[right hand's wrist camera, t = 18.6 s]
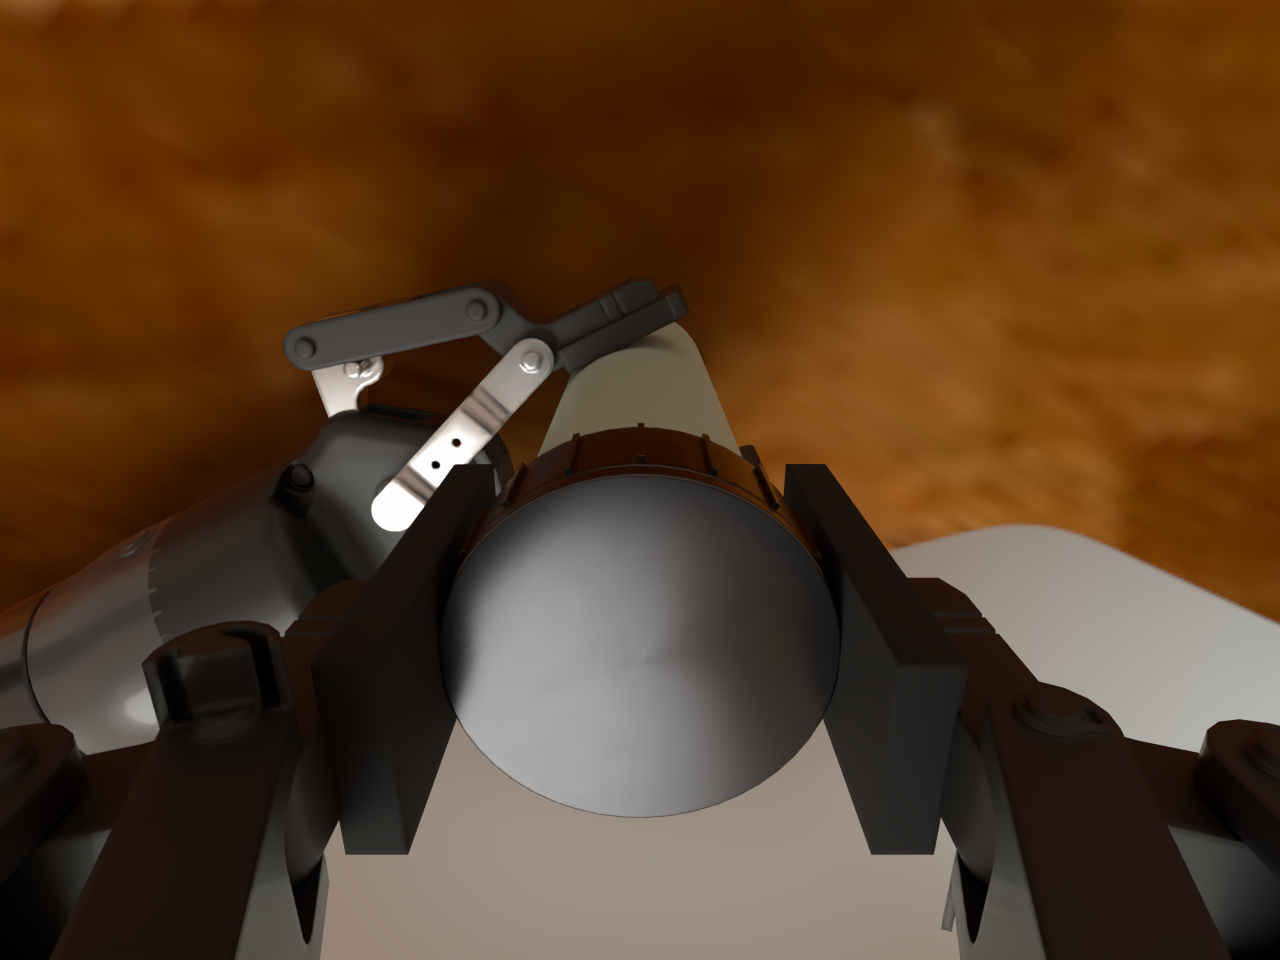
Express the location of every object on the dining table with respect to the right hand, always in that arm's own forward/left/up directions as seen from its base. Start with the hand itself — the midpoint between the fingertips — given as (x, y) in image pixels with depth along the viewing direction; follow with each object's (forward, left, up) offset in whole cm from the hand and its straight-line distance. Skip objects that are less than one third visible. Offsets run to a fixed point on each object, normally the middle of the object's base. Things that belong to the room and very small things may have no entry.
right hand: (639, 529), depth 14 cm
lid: (0, 0, +4) cm, 4 cm away
